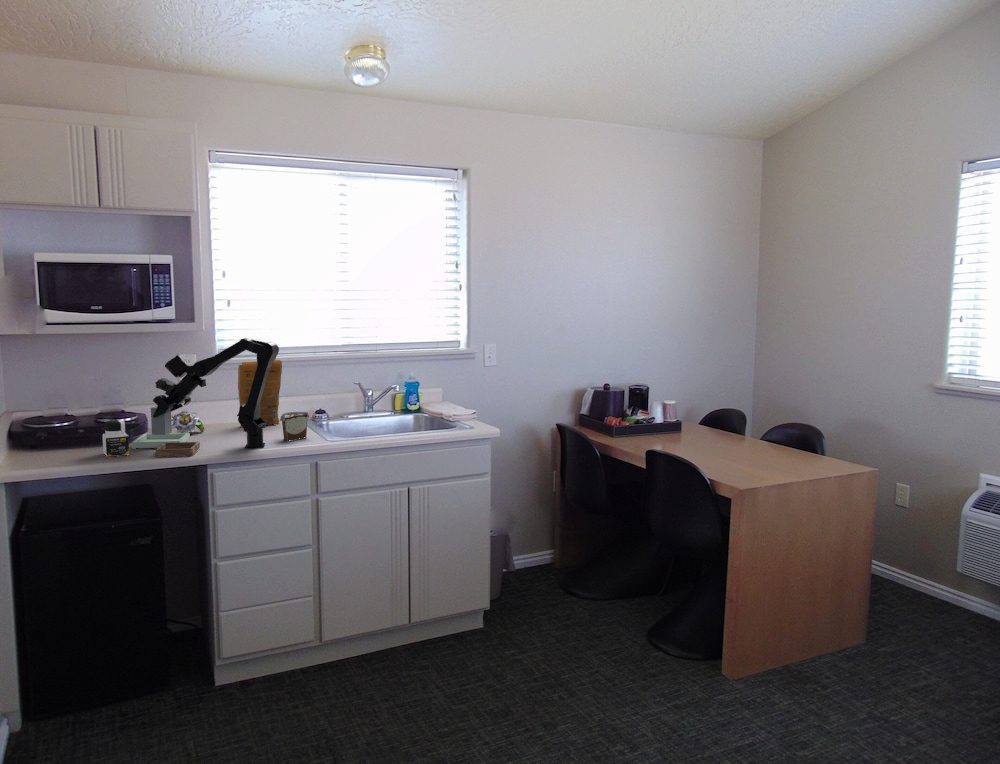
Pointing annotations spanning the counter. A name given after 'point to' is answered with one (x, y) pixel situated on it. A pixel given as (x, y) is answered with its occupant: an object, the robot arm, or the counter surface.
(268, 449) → the counter surface
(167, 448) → the walnut collar
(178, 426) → the passion flower
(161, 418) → the grey peg
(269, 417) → the pancake mix bag
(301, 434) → the food container
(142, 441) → the mint green tray
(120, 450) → the medicine bottle
